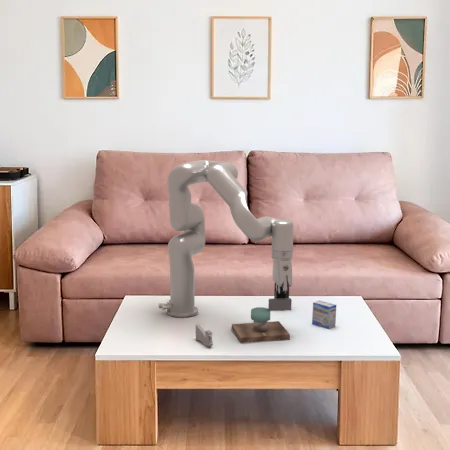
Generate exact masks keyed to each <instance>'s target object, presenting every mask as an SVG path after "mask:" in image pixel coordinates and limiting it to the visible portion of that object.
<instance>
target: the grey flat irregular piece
mask: <svg viewBox="0 0 450 450" xmlns="http://www.w3.org/2000/svg"><path fill="white" fill-rule="evenodd" d="M195 340H196V341H200V342H201V343H202V344H203V345H204V346H205V347H212V346H213V345H214V343H213V332H212V330H210V329H207V330H205V329H204V328H203V327H202V325H201V324H199V323H198V324H195Z"/></svg>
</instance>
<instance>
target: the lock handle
mask: <svg viewBox="0 0 450 450" xmlns="http://www.w3.org/2000/svg"><path fill="white" fill-rule="evenodd" d="M292 301H293V300H292V298H291V297H289V298H276V299H274V298H268V308H267V307H263V306H262V307H261V306H257V307H253V308H251V309H250V320H251V321H253V322H254V321H258V322H265V321H267V322H270V320H271V312H275V311H278V312H279V311H281V312H282V311H283V312H284V310H285V311H292Z"/></svg>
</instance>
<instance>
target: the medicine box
mask: <svg viewBox="0 0 450 450" xmlns="http://www.w3.org/2000/svg"><path fill="white" fill-rule="evenodd" d="M311 316H312V317H311V323H312V325H314V326H317V327H321V328H324V329H328V330H330V329H333V328H335V327H336V318H337V304H335V303H331V302H327V301H323V300H315V301H313V302H312V315H311Z"/></svg>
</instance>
